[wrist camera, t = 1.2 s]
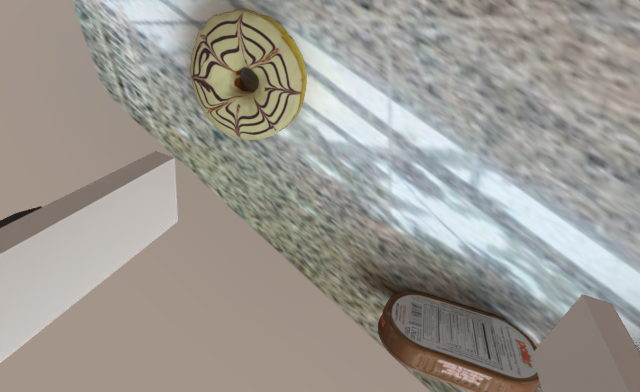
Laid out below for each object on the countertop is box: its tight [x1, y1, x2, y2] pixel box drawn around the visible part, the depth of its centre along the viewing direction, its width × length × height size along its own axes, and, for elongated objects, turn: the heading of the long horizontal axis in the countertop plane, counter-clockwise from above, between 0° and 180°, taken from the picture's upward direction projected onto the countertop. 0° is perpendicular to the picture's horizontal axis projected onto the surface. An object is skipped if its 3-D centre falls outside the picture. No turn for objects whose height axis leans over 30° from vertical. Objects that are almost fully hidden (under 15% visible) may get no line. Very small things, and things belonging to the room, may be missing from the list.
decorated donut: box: [191, 9, 307, 140], centre depth 30 cm, size 10×11×4 cm
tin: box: [378, 291, 540, 392], centre depth 33 cm, size 15×3×8 cm, turn 81°
